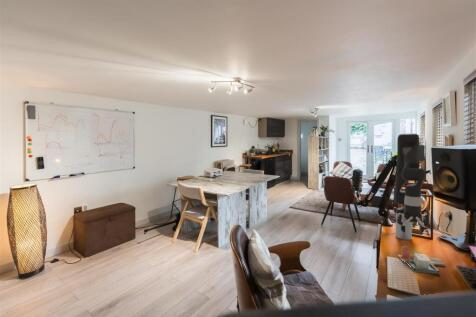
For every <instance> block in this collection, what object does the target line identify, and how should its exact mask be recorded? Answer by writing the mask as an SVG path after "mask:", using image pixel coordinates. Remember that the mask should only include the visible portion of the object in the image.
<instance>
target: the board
mask: <svg viewBox="0 0 476 317" xmlns="http://www.w3.org/2000/svg"><path fill="white" fill-rule="evenodd" d="M401 256H402V254H397V258H398V259H400V261H401V260H402V261H405V262H406V259H403V258H401ZM409 257H410V259H409V260H413V261H414V255H409ZM427 257H428V259H429V260H430V263H431V264H432V265H434V266H439V267H446V264H445V262H443V261H442V260H441V259H440V258H439V257H429V256H427ZM402 261H401V262H402ZM405 262H404V263H405Z"/></svg>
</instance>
